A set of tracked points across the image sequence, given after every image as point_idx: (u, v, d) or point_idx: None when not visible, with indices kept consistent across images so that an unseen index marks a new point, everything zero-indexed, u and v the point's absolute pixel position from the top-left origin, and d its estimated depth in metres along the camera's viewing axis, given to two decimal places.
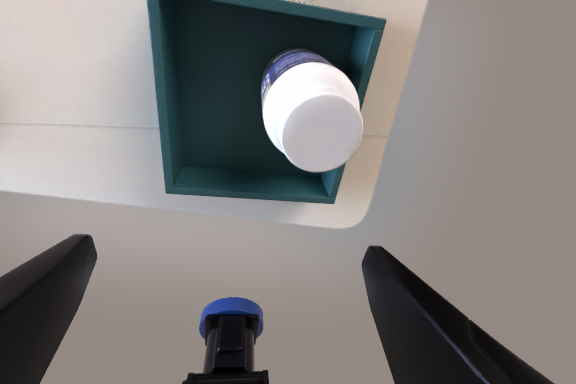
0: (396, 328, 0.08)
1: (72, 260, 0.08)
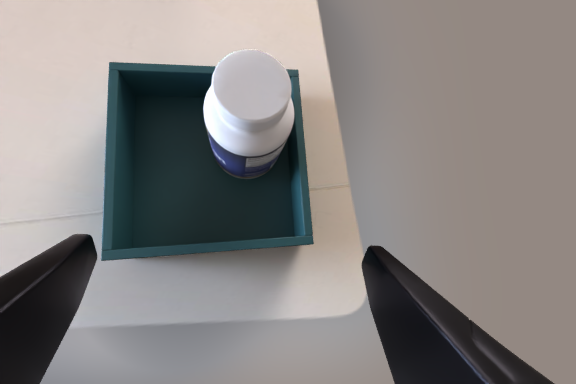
0: (396, 328, 0.08)
1: (72, 260, 0.08)
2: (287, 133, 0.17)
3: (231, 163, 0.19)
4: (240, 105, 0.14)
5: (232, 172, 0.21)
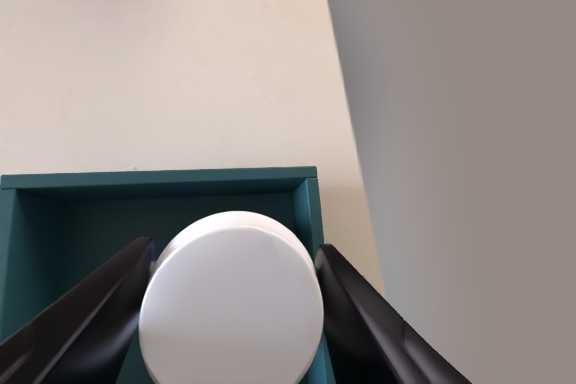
0: (337, 329, 0.08)
1: (141, 262, 0.08)
2: None
3: None
4: (207, 379, 0.06)
5: None
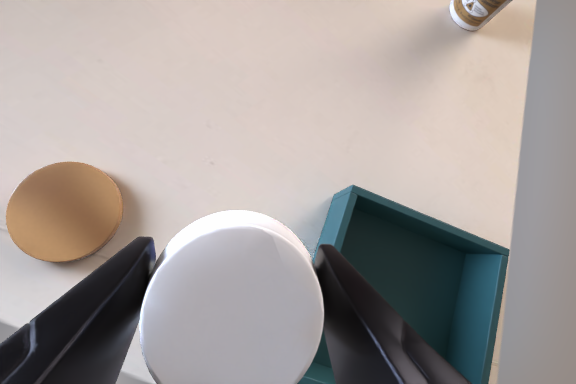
0: (337, 329, 0.08)
1: (141, 262, 0.08)
2: None
3: None
4: (207, 378, 0.06)
5: None
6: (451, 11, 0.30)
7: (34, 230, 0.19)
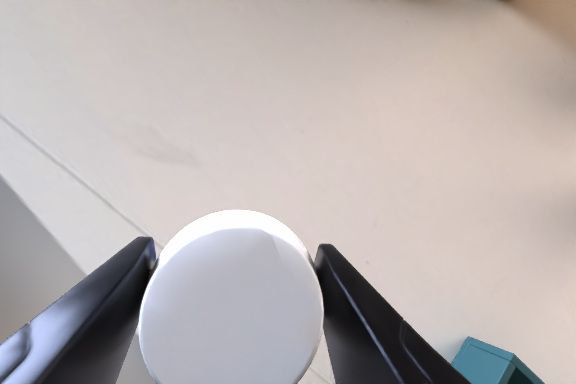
0: (337, 329, 0.08)
1: (142, 262, 0.08)
2: None
3: None
4: (206, 378, 0.06)
5: None
6: None
7: None
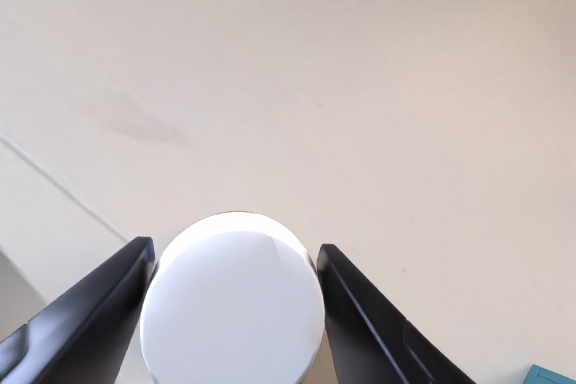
0: (340, 329, 0.08)
1: (140, 262, 0.08)
2: None
3: None
4: (208, 380, 0.06)
5: None
6: None
7: None
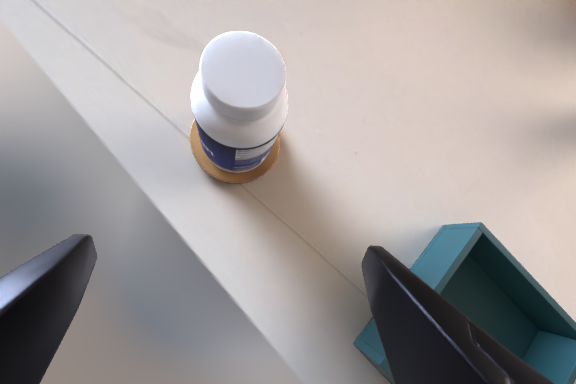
0: (396, 328, 0.08)
1: (72, 260, 0.08)
2: (280, 125, 0.16)
3: (220, 155, 0.18)
4: (230, 91, 0.13)
5: (221, 165, 0.20)
6: None
7: None
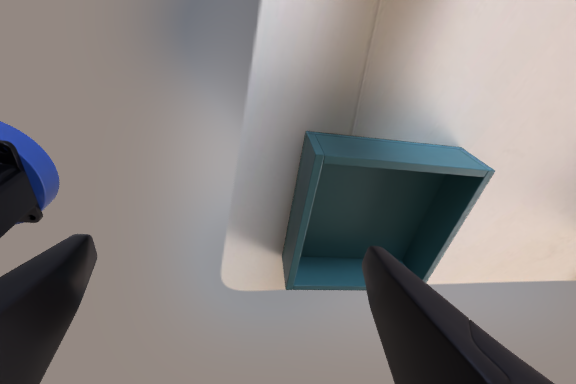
0: (396, 328, 0.08)
1: (72, 260, 0.08)
2: None
3: None
4: None
5: None
6: None
7: None
